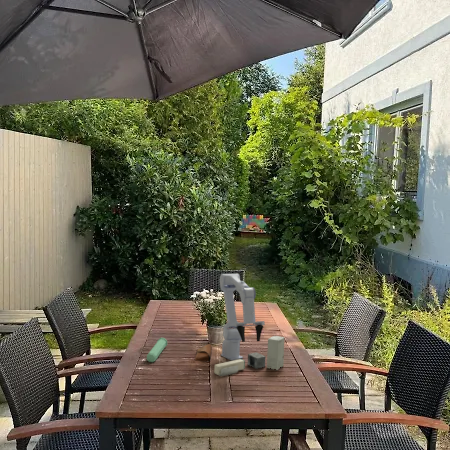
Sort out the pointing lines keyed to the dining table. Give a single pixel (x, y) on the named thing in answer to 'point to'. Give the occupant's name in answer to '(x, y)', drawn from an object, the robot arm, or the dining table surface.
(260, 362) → the socket
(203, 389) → the dining table surface
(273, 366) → the skincare box
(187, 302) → the dining table surface
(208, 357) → the sunglasses case
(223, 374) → the sleeve
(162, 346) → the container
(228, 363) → the inner rod
